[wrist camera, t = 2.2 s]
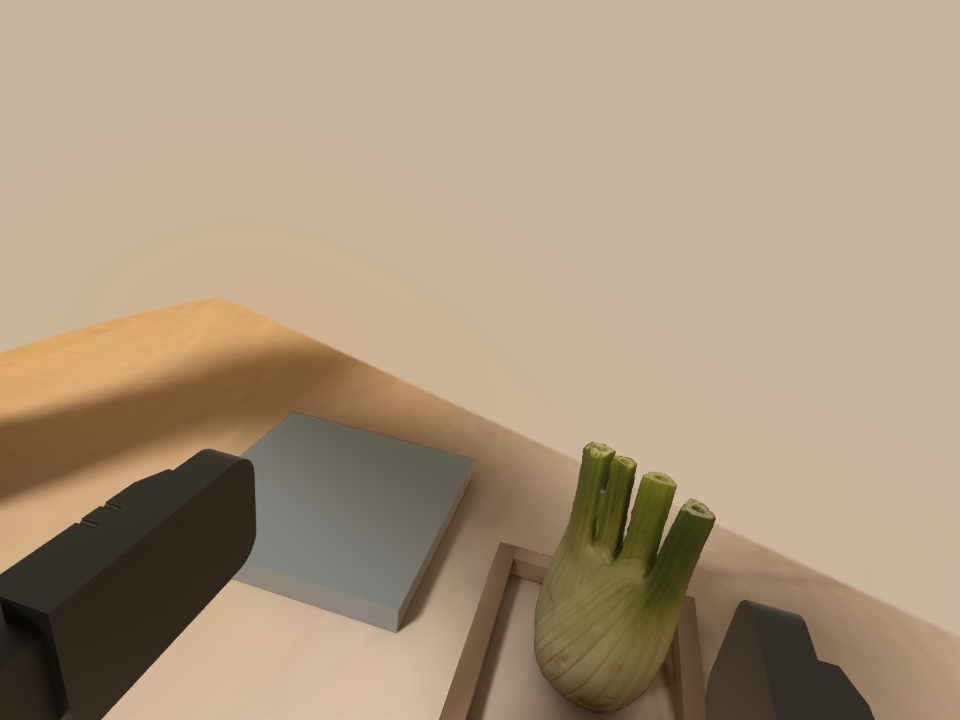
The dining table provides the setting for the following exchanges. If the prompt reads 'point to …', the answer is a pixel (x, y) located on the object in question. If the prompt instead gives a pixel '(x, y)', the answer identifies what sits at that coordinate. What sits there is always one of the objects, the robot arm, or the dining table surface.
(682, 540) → the fennel bulb
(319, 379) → the dining table surface
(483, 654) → the walnut collar
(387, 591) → the slate board
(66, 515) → the dining table surface
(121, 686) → the robot arm
